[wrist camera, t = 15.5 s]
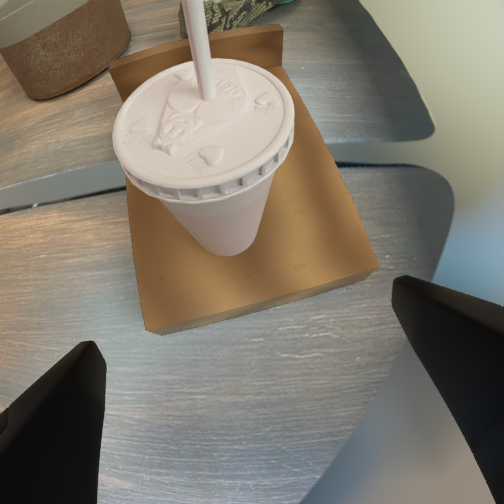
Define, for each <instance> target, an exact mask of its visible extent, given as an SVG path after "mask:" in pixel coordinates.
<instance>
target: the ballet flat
mask: <svg viewBox="0 0 504 504" xmlns="http://www.w3.org/2000/svg"><path fill="white" fill-rule="evenodd" d="M291 1H293V0H203V5H204V12H205V19H206V26H207V33H208V34H210V33H215V32H221V31H226V30H232V29H239V28H244V27H245V26H246V25H247V24H248V23H250V22H251V21H252V20H253V19H255V18H256V17H258V16H259V15H260V14H262V13H264V12H265V11H266V10H268V9H270V8H271V7H273V6H275V5H276V4H283V3H288V2H291ZM179 22H180V34H181V38H182V39H187V38H188V33H187V28H186V22H185V17H184V12H183V7H182V1H181V4H180V11H179Z"/></svg>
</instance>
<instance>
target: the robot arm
mask: <svg viewBox="0 0 504 504" xmlns="http://www.w3.org/2000/svg"><path fill="white" fill-rule="evenodd" d="M391 302H392V307H393V310H394V312H395V314H396V316H397V318H398V320H399V322H400V324H401V326H402V328H403V330H404V332H405V334H406V336H407V338H408V340H409V342H410V344H411V346H412V348H413V349H414V351H415V353H416V354H417V356H418V357H419V359H420V361H421V362H422V364H423V366H424V367H425V369H426V371H427V372H428V374H429V375H430V377H431V379H432V381H433V382H434V384H435V386H436V387H437V389H438V390H439V393H440V394H441V396H442V398H443V399H444V401H445V403H446V405H447V407H448V408H449V410H450V412H451V414H452V416H453V417H454V419H455V421H456V423H457V425H458V426H459V428H460V430H461V432H462V434H463V436H464V437H465V440H466V442H467V443H468V445H469V447H470V449H471V451H472V453H473V454H474V455H473V456H474V458H475V460H476V462H477V464H478V466H479V468H480V470H481V472H482V474H483V476H484V478H485V480H486V483H487V485H488V487H489V489H490V491H491V494H492V496H493V498H494V500H495V503H496V504H504V307H502V306H501V305H498V304H495V303H492V302H488V301H486V300H483V299H480V298H477V297H473V296H471V295H467V294H464V293H461V292H458V291H455V290H452V289H449V288H446V287H443V286H440V285H436V284H433V283H430V282H427V281H424V280H421V279H418V278H414V277H411V276H408V275H404V276H401V277H397V278H395V279H394V281H393V288H392V300H391ZM106 371H107V366H106V362H105V359H104V358H103V356H102V354H101V352H100V350H99V349H98V347H97V345H96V343H95V342H94V341H91V340H90V341H83V342H80V343H79V344H78V345H77V346H75V347H74V348H73V349H72V350H71V351H70V352H69V353H67V354H66V355H65V356H64V357H63V358H62V359H61V360H59V361H58V362H57V363H56V364H55V365H54V366H53V367H51V368H50V369H49V370H48V371H47V372H46V373H45V374H44V375H42V376H41V377H40V378H39V379H38V380H37V381H36V382H35V383H34V384H32V385H31V386H30V387H29V388H28V389H27V390H26V391H25V392H24V393H23V394H21V395H20V396H19V397H18V398H17V399H16V400H15V401H14V402H13V403H12V404H11V405H10V406H9V408H6V409H5V410H4V411H3V412H2V413H1V414H0V504H97V491H98V473H99V460H100V449H101V439H102V429H103V421H104V412H105V392H106Z"/></svg>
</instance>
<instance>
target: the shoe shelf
mask: <svg viewBox="0 0 504 504" xmlns="http://www.w3.org/2000/svg"><path fill="white" fill-rule="evenodd" d="M208 40H209V47H210V54H211V59H212V58H222V59H234V60H239V61H244V62H248V63H250V64H253V65H256V66H259V67H261V68H263V69H265V70H266V71H268V72H270V73H271V74H273V75H274V76H275V77H277V78H278V79H279V80H280V81H281V82H282V83H283V84H284V86H285V87H286V88H287V90H288V91H289V93H290V95H291V97H292V100H293V104H294V113H295V116H294V138H293V143H292V145H291V148H290V150H289V152H288V154H287V157H286V159H285V160H284V161H283V163H282V164H281V165H280V166H279V167H278V168H277V169H276V170H275V174H274V176H273V179H272V183H271V186H270V190H269V193H268V197H267V200H266V203H265V207H264V210H263V214H262V217H261V221H260V224H259V227H258V231H257V234H256V237H255V239H254V241H253V243H252V244H251V245H250V246H249V247H248V248H247V249H246V250H244V251H243V252H241V253H239V254H237V255H233V256H217V255H214V254H212V253H210V252H208V251H207V250H205V249H204V248H203V247H202V246H201V245H200V244H199V243H198V241H197V240H196V239H195V238H194V237H193V236H192V235H191V234H190V233H189V232H188V231H187V230H186V228H185V227H184V226H183V225H182V224H181V223H180V222H179V221H178V220H177V219H176V218H175V216H174V215H173V214H172V213H171V212H170V211H169V210H168V209H167V208H166V207H165V205H164V204H163V203H162V202H161V201H160V200H159V199H158V198H155V197H152V196H149V195H147V194H146V193H144V192H143V191H142V190H140V189H139V188H138V187H136V186H135V185H133V184H132V183H131V181H130V180H129V178H128V177H127V175H126V188H127V201H128V212H129V222H130V231H131V240H132V248H133V256H134V263H135V270H136V277H137V283H138V290H139V296H140V302H141V307H142V313H143V318H144V323H145V329H146V331H149V332H152V333H156V334H159V335H166V334H170V333H174V332H179V331H183V330H187V329H191V328H195V327H199V326H204V325H208V324H212V323H216V322H220V321H223V320H227V319H231V318H235V317H239V316H243V315H246V314H250V313H254V312H257V311H261V310H265V309H268V308H272V307H276V306H279V305H283V304H286V303H290V302H293V301H296V300H300V299H303V298H307V297H310V296H313V295H317V294H320V293H323V292H327V291H330V290H333V289H336V288H339V287H343V286H346V285H349V284H352V283H355V282H358V281H361V280H364V279H365V278H367V277H368V276H369V275H370V274H371V273H372V272H373V271H375V270H376V269H377V268H378V267H379V264H378V261H377V259H376V256H375V254H374V251H373V249H372V246H371V244H370V241H369V239H368V236H367V234H366V231H365V229H364V226H363V224H362V222H361V219H360V217H359V215H358V212H357V210H356V208H355V205H354V203H353V201H352V199H351V196H350V194H349V192H348V190H347V188H346V186H345V183H344V181H343V179H342V177H341V175H340V173H339V171H338V169H337V166H336V164H335V162H334V160H333V158H332V156H331V154H330V152H329V150H328V148H327V146H326V144H325V142H324V140H323V138H322V136H321V135H320V133H319V131H318V129H317V127H316V125H315V123H314V121H313V119H312V118H311V116H310V114H309V112H308V110H307V108H306V107H305V105H304V103H303V101H302V99H301V98H300V96H299V94H298V92H297V91H296V89H295V87H294V85H293V84H292V82H291V80H290V79H289V77H288V75H287V74H286V72H285V70H284V69H283V67H282V49H283V28H282V27H281V26H280V25H279V24H269V25H260V26H253V27H245V28H239V29H232V30H226V31H221V32H215V33H210V34H208ZM190 61H193V58H192V53H191V48H190V43H189V38H187V39H183V40H179V41H175V42H171V43H168V44H164V45H160V46H157V47H153V48H150V49H147V50H143V51H140V52H137V53H134V54H131V55H128V56H125V57H122V58H119V59H116V60H114V61H111V62H109V72H110V74H111V76H112V78H113V81H114V83H115V85H116V87H117V90H118V92H119V94H120V96H121V99H122V101H123V102H125V101H126V100H127V98H128V97H129V96H130V95H131V94H132V93H133V92H134V91H135V90H136V89H137V88H138V87H139V86H140V85H142V84H143V83H144V82H145V81H147V80H148V79H150V78H151V77H153V76H155V75H156V74H158V73H160V72H162V71H164V70H166V69H168V68H171V67H173V66H176V65H179V64H182V63H185V62H190Z"/></svg>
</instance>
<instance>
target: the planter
mask: <svg viewBox="0 0 504 504" xmlns="http://www.w3.org/2000/svg"><path fill="white" fill-rule="evenodd" d="M130 36H131V35H130V31H129V28H128V25H127V22H126V18H125V15H124V12H123V9H122V6H121V3H120V0H7V1H6V2H4V4H2V5H1V6H0V54H1V55H2V57H3V58H4V60H5V62H6V63H7V65H8V66H9V68H10V69H11V71H12V72H13V74H14V75H15V77H16V78H17V80H18V81H19V83H20V84H21V86H22V87H23V89H24V90H25V92H26V93H27V95H28V96H29V97H31V98H33V99H47V98H51V97H55V96H58V95H60V94H63V93H65V92H68V91H70V90H72V89H74V88H76V87H78V86H80V85H82V84H83V83H85V82H87V81H88V80H90V79H91V78H93V77H94V76H96V75H97V74H99V73H100V72H102V71H103V70H104V69H105V68H107V67H108V66H109V62H111V61H114V60H116V59H117V58H118V57H119V56H120V55H121V54H122V52H123V51H124V50H125V48H126V47H127V45H128V43H129V41H130Z"/></svg>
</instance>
